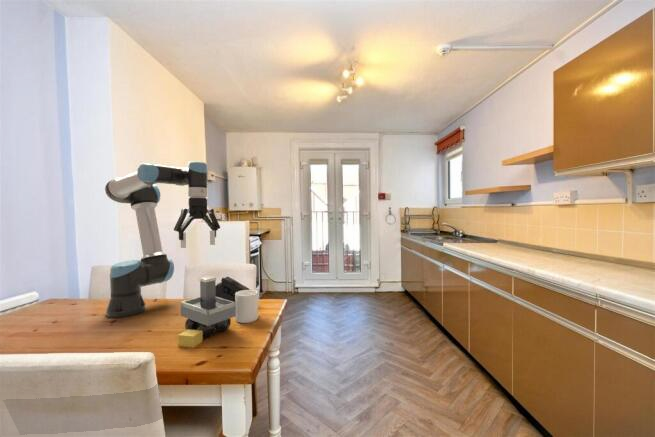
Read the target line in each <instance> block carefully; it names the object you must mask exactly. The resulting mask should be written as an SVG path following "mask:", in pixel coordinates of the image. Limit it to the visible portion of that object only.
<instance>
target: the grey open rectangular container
mask: <svg viewBox="0 0 655 437" xmlns="http://www.w3.org/2000/svg"><path fill="white" fill-rule="evenodd" d="M180 316H181V317H183V318H186V321H185V323H184V324H185V325H184V327H185V328H184V329H185V331H186V330H188V329H191V330H201V331H203V339H208V338H211V336H212V335H213V334H214V333H215V331H218V332H222V333H223V332H226V331H227V330H228V329H229V328H230V326H231V323H232V322H231V319H232V318H234V317H235V316H236V302H233V301H229V300H226V299H222V298H219V297H216V306H212V307H209V308H204V307H201V306H200V296H198V297H195V298H191V299H187V300H183V301H180Z"/></svg>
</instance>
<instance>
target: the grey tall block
mask: <svg viewBox="0 0 655 437" xmlns="http://www.w3.org/2000/svg"><path fill="white" fill-rule="evenodd" d="M198 281H199V284H200V285H199V290H200V291H199V292H200V294H199V295H200V296H199V297H200V306H201V307H204V308H209V307H212V306H216V285H217V283H216V281H217V277H215V276H211V275H209V276H208V275H207V276H204V277H199V280H198Z"/></svg>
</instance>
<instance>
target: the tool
mask: <svg viewBox="0 0 655 437" xmlns="http://www.w3.org/2000/svg"><path fill="white" fill-rule="evenodd" d="M242 290H251V289H250V288H249V287H247V286H245V285H244V284H242V283H241V282H239V281H237V280H235V279H233V278H231V277H229V276H225V277H221V280H220V282H218V283H216V297H219V298H222V299H226V300H229V301H233V302H235V293H236V292H238V291H242Z"/></svg>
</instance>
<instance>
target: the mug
mask: <svg viewBox="0 0 655 437" xmlns="http://www.w3.org/2000/svg"><path fill="white" fill-rule="evenodd" d="M235 302H236V316H235V322H237V323H239V324H240V323H241V324H249V323H253V322H255V321H257V319H258V317H259V292H258V291H257V290H256V289H250V290H242V291H238V292H236V293H235Z"/></svg>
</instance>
